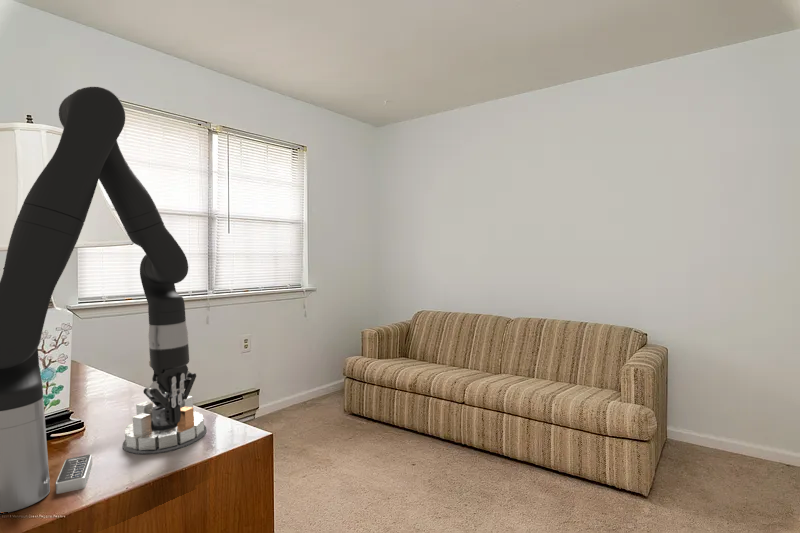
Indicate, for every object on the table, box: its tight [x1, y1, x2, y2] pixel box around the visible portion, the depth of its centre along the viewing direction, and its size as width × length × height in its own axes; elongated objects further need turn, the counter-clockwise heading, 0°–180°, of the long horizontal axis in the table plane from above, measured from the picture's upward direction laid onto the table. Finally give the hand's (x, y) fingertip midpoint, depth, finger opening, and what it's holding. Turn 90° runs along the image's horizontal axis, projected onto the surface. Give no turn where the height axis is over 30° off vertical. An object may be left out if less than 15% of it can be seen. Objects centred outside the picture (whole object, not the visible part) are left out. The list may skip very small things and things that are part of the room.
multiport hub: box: [55, 453, 93, 495], centre depth 90 cm, size 4×11×2 cm, turn 27°
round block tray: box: [124, 395, 205, 450], centre depth 107 cm, size 16×16×6 cm
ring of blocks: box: [122, 405, 207, 455], centre depth 107 cm, size 17×17×7 cm
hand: (173, 422), depth 102 cm, fingers closed
